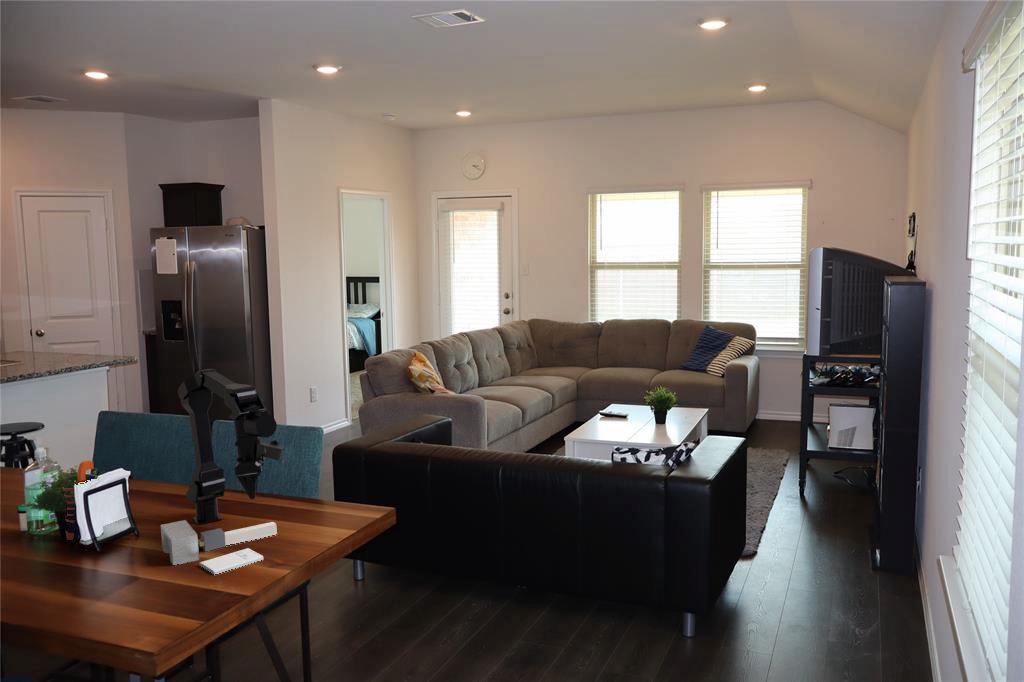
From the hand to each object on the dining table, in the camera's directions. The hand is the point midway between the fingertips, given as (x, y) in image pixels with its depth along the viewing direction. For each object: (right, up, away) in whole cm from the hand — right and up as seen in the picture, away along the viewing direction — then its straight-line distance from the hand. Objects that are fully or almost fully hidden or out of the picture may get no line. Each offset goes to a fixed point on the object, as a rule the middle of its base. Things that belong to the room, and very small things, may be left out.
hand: (253, 495), depth 209 cm
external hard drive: (-1, -15, -13) cm, 19 cm away
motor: (-48, -13, +9) cm, 51 cm away
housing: (-16, -14, -7) cm, 22 cm away
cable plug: (-4, -12, +1) cm, 13 cm away
